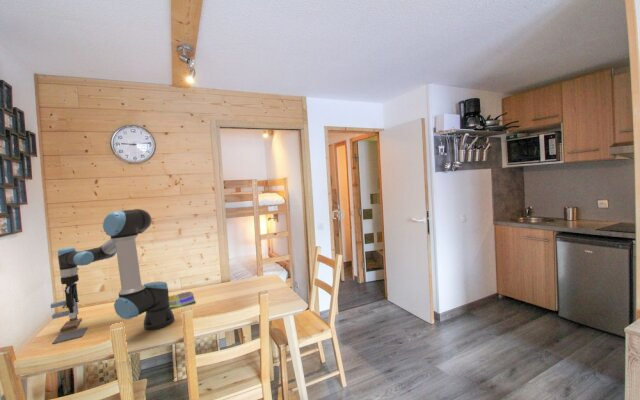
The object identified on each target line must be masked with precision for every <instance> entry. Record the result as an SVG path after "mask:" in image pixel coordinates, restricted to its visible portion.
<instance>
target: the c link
mask: <svg viewBox="0 0 640 400" xmlns="http://www.w3.org/2000/svg"><path fill="white" fill-rule="evenodd" d="M76 303H77V302H75V298H74V306H75V313H77V309H76ZM64 305H66V299H65V300H60V301H57V302H52V303H51V304H50V309H53V308H58V307H63V306H64ZM66 316H67V317H69V311H68V310H66V311H65V310H64V311H61V312H55V313H52V315H51V318H52V320H54V319H55V320H56V319H58V318H64V317H66Z"/></svg>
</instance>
